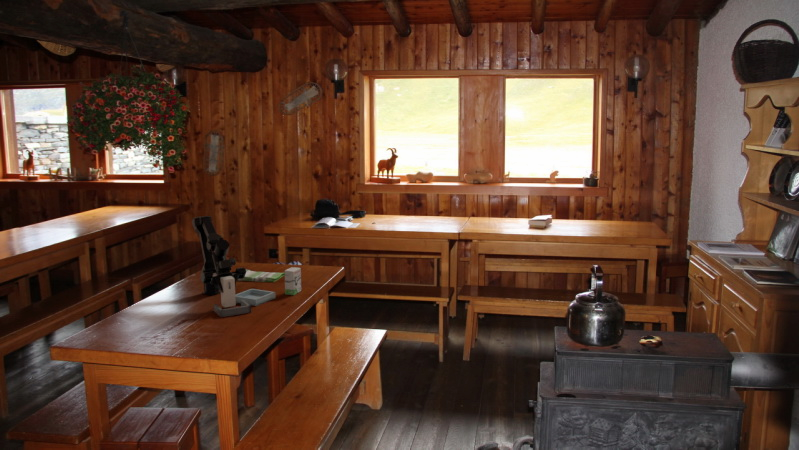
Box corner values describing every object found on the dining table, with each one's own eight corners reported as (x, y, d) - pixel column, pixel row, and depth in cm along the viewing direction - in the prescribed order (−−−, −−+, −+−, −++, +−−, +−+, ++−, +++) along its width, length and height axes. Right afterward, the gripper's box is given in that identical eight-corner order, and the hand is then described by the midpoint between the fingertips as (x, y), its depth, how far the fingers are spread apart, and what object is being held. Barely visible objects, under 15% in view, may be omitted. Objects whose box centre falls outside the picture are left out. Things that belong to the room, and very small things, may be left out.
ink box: (294, 295, 317) (293, 271, 315) (284, 294, 318) (283, 270, 316) (301, 290, 325) (301, 267, 323) (292, 290, 326) (291, 266, 324)
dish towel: (245, 273, 361) (245, 267, 361) (286, 275, 357) (285, 269, 356) (232, 281, 345) (231, 275, 344) (274, 283, 340) (273, 276, 340)
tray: (232, 302, 306) (231, 295, 306) (252, 294, 318) (251, 288, 318) (256, 306, 300) (255, 299, 299) (275, 298, 312) (275, 292, 311)
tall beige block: (221, 304, 297) (220, 277, 295) (232, 302, 300) (231, 275, 297) (225, 308, 292) (224, 280, 290) (236, 306, 294) (235, 279, 292)
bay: (214, 310, 293) (213, 304, 292) (243, 306, 299) (243, 299, 299) (220, 317, 284) (220, 310, 283) (251, 312, 290) (251, 305, 290)
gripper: (202, 254, 291) (210, 285, 283) (244, 250, 300) (252, 279, 293) (198, 268, 299) (206, 298, 291) (239, 263, 308) (248, 292, 301)
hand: (228, 291), depth 294 cm, fingers closed on tall beige block, 5 cm apart
